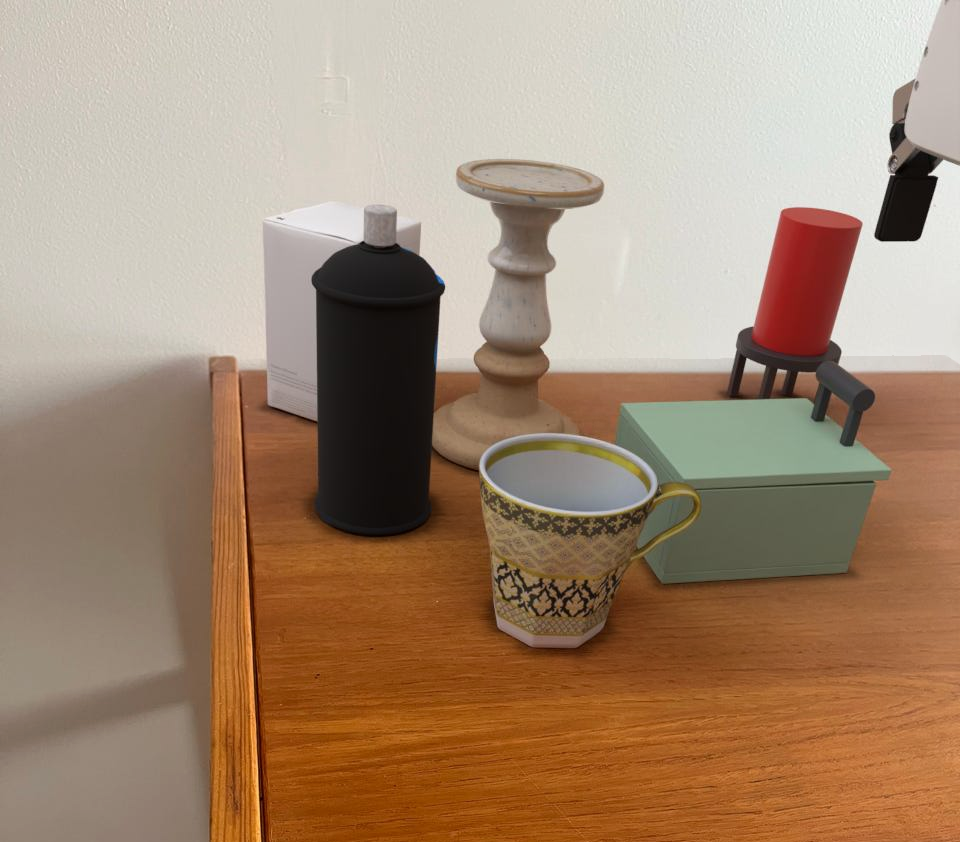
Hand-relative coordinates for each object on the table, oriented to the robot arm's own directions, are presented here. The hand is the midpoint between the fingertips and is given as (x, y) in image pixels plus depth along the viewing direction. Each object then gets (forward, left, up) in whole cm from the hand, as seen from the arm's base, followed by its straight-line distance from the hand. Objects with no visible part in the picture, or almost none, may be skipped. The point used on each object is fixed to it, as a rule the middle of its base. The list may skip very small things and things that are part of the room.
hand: (938, 262), depth 65 cm
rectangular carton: (+34, -24, -19) cm, 46 cm away
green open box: (+10, 0, -19) cm, 22 cm away
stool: (-5, -22, -19) cm, 29 cm away
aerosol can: (+34, -6, -19) cm, 40 cm away
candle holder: (+22, -16, -19) cm, 34 cm away
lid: (+10, 0, -12) cm, 16 cm away
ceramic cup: (+24, +9, -19) cm, 33 cm away
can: (-4, -22, -13) cm, 26 cm away
